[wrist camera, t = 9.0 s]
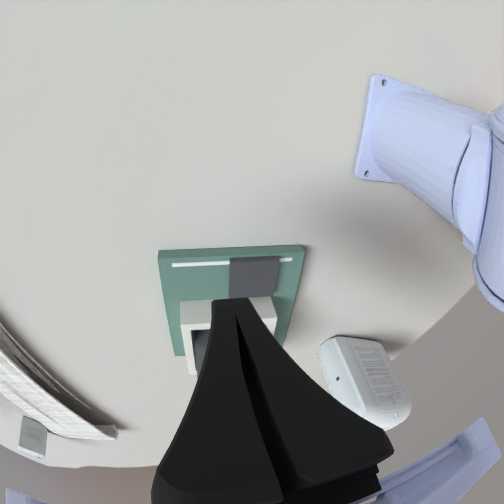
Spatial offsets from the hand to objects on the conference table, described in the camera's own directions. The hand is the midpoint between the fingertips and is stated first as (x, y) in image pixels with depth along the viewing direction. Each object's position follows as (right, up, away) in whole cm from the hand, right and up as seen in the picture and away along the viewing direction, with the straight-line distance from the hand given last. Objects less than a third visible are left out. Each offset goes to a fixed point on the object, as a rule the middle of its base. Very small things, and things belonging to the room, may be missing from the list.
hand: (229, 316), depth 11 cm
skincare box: (-45, -33, +27) cm, 62 cm away
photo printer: (+13, -10, +23) cm, 28 cm away
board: (-1, -2, +14) cm, 14 cm away
